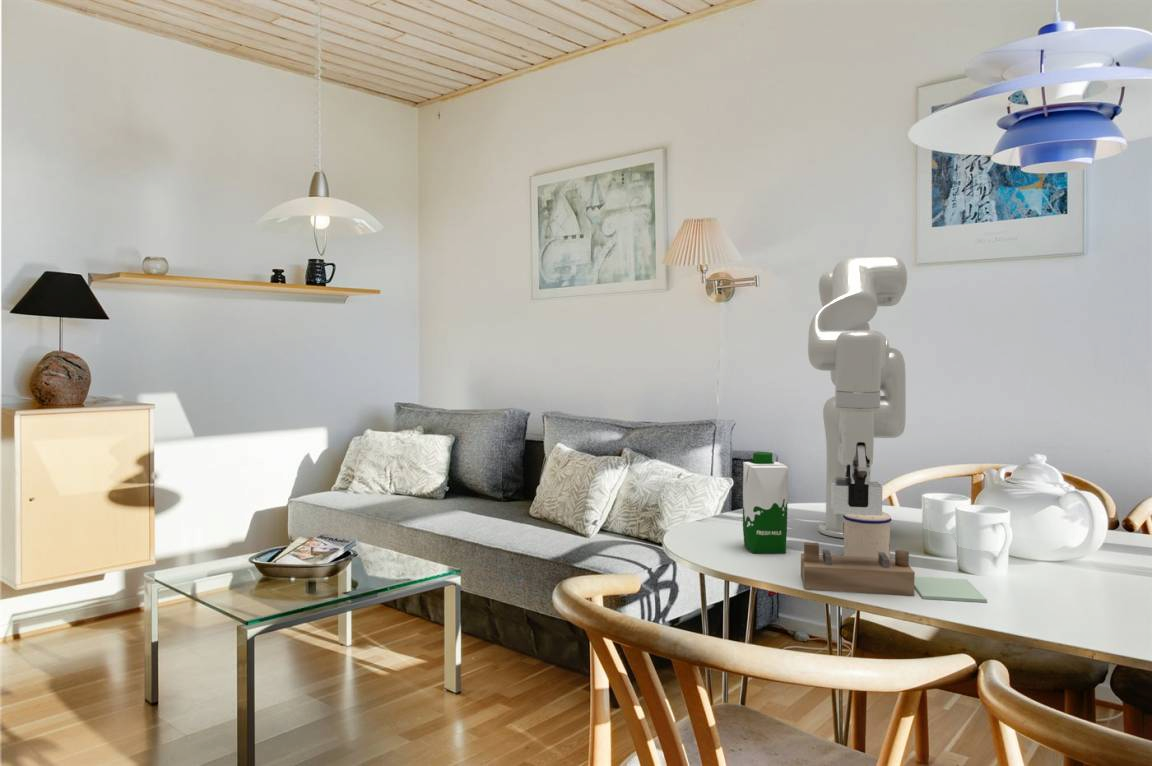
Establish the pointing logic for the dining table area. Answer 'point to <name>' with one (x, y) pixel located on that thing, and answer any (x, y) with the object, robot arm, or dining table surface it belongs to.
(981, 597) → the mat
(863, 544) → the teacup with lid
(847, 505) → the lever cap
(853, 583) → the plane body
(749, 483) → the milk carton
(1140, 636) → the dining table surface
